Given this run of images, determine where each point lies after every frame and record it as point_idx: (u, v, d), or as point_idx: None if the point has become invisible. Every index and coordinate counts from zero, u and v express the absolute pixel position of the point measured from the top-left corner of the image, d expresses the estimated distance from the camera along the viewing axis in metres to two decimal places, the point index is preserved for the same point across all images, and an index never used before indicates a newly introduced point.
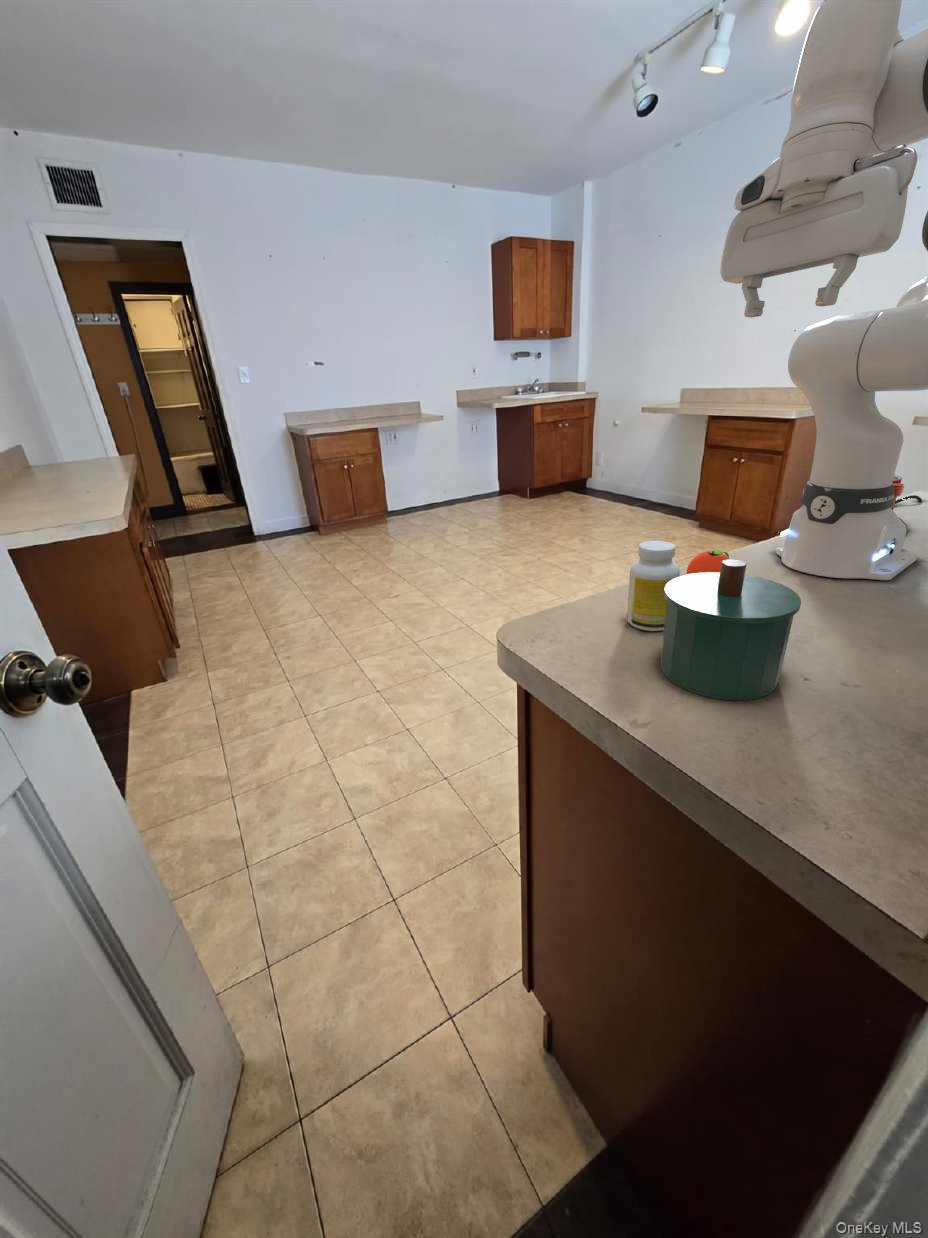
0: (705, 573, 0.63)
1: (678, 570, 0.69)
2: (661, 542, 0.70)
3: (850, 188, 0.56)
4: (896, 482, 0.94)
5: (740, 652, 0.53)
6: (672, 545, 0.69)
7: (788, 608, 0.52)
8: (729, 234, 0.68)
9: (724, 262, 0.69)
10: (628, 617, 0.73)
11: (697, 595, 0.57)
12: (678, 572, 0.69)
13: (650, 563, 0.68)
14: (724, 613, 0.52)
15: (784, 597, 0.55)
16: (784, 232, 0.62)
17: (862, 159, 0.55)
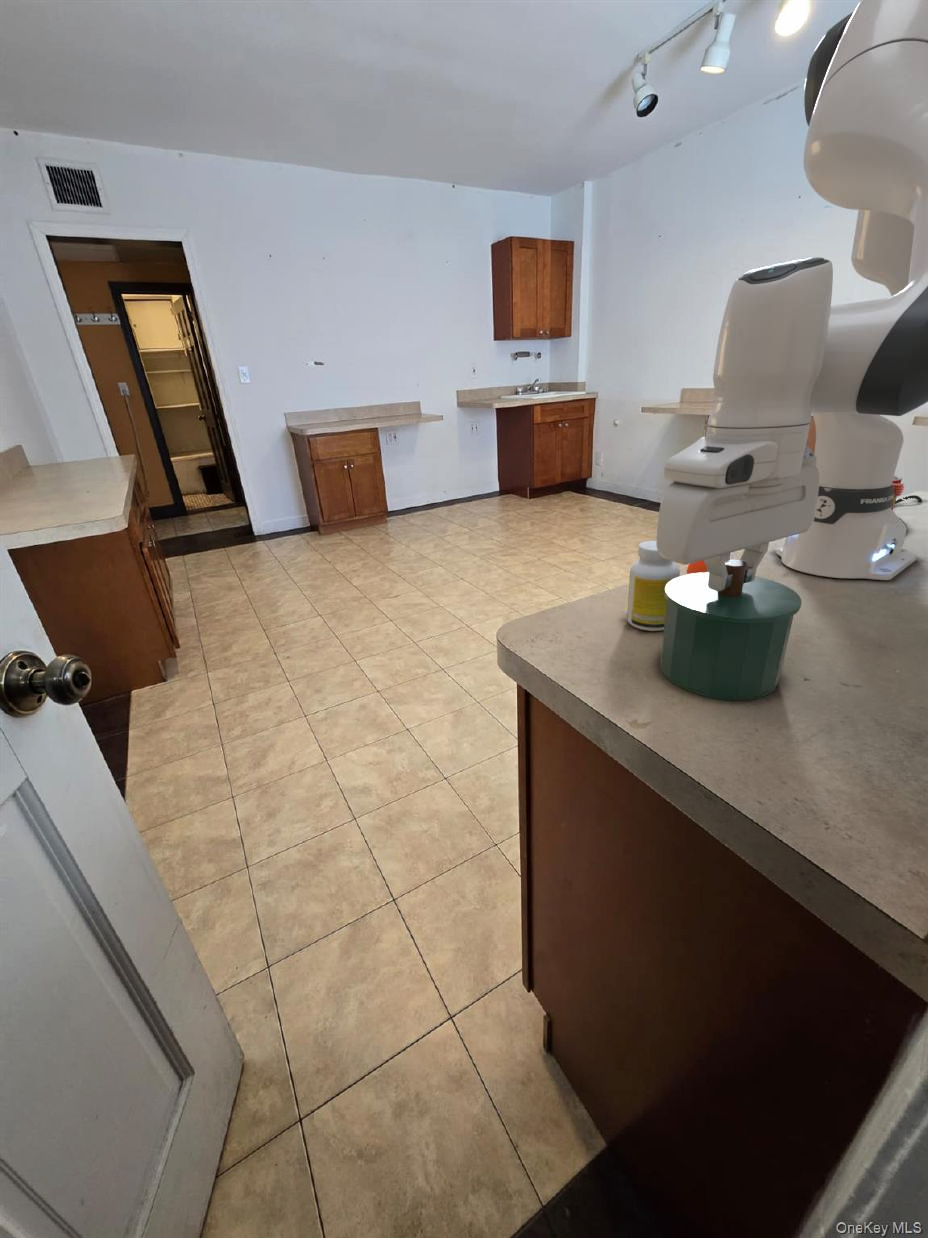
0: (705, 573, 0.63)
1: (678, 570, 0.69)
2: None
3: (798, 481, 0.53)
4: (896, 482, 0.94)
5: (740, 652, 0.53)
6: None
7: (788, 608, 0.52)
8: (701, 514, 0.47)
9: (692, 546, 0.49)
10: (628, 617, 0.73)
11: (697, 595, 0.57)
12: (678, 572, 0.69)
13: (650, 563, 0.68)
14: (724, 613, 0.52)
15: (784, 597, 0.55)
16: (749, 515, 0.51)
17: None
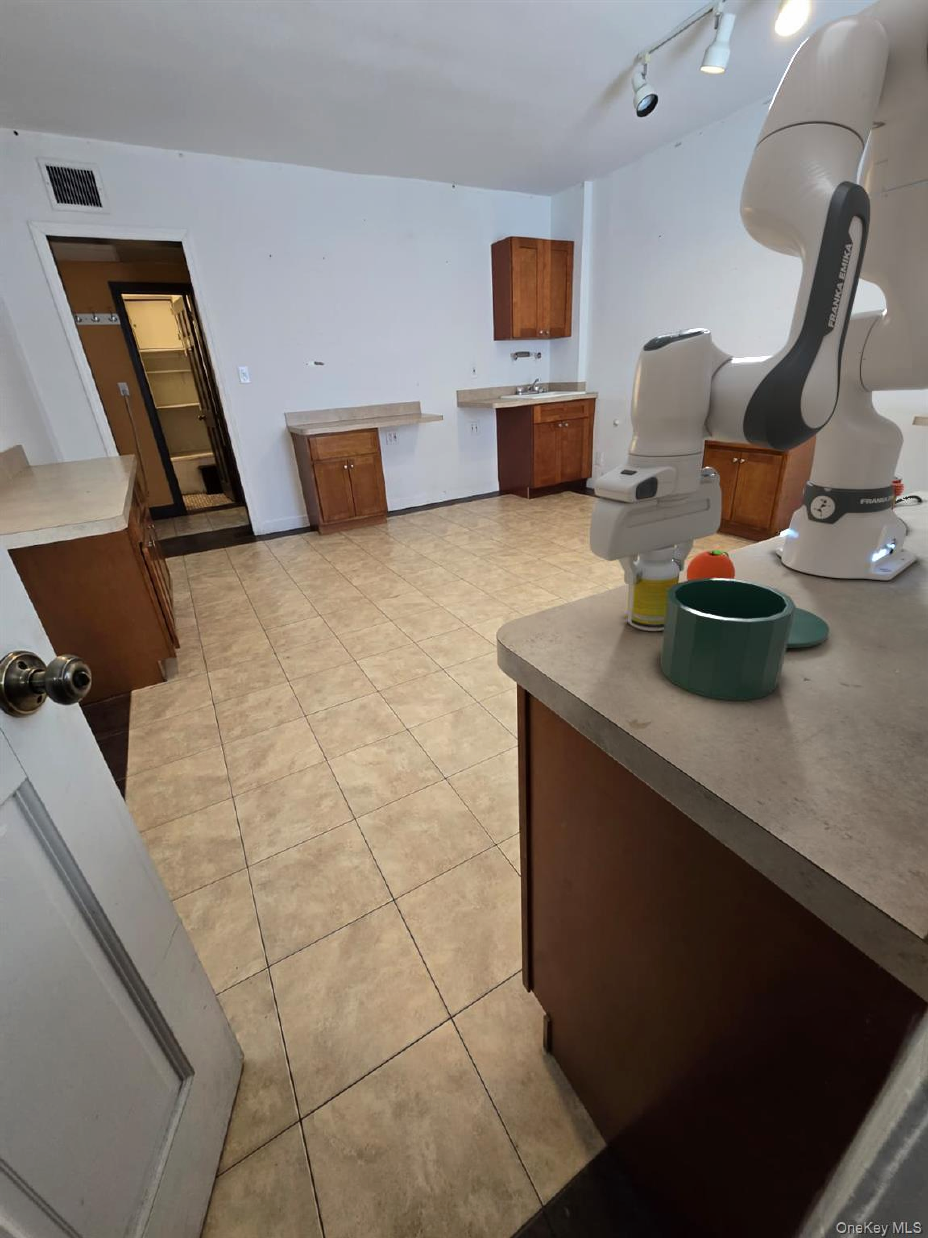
0: None
1: (678, 570, 0.69)
2: None
3: (702, 495, 0.67)
4: (896, 482, 0.94)
5: (740, 652, 0.53)
6: (672, 545, 0.69)
7: (819, 635, 0.65)
8: (619, 522, 0.62)
9: (614, 546, 0.63)
10: (628, 617, 0.73)
11: None
12: (678, 572, 0.69)
13: (650, 563, 0.68)
14: None
15: (815, 625, 0.67)
16: (661, 522, 0.65)
17: None
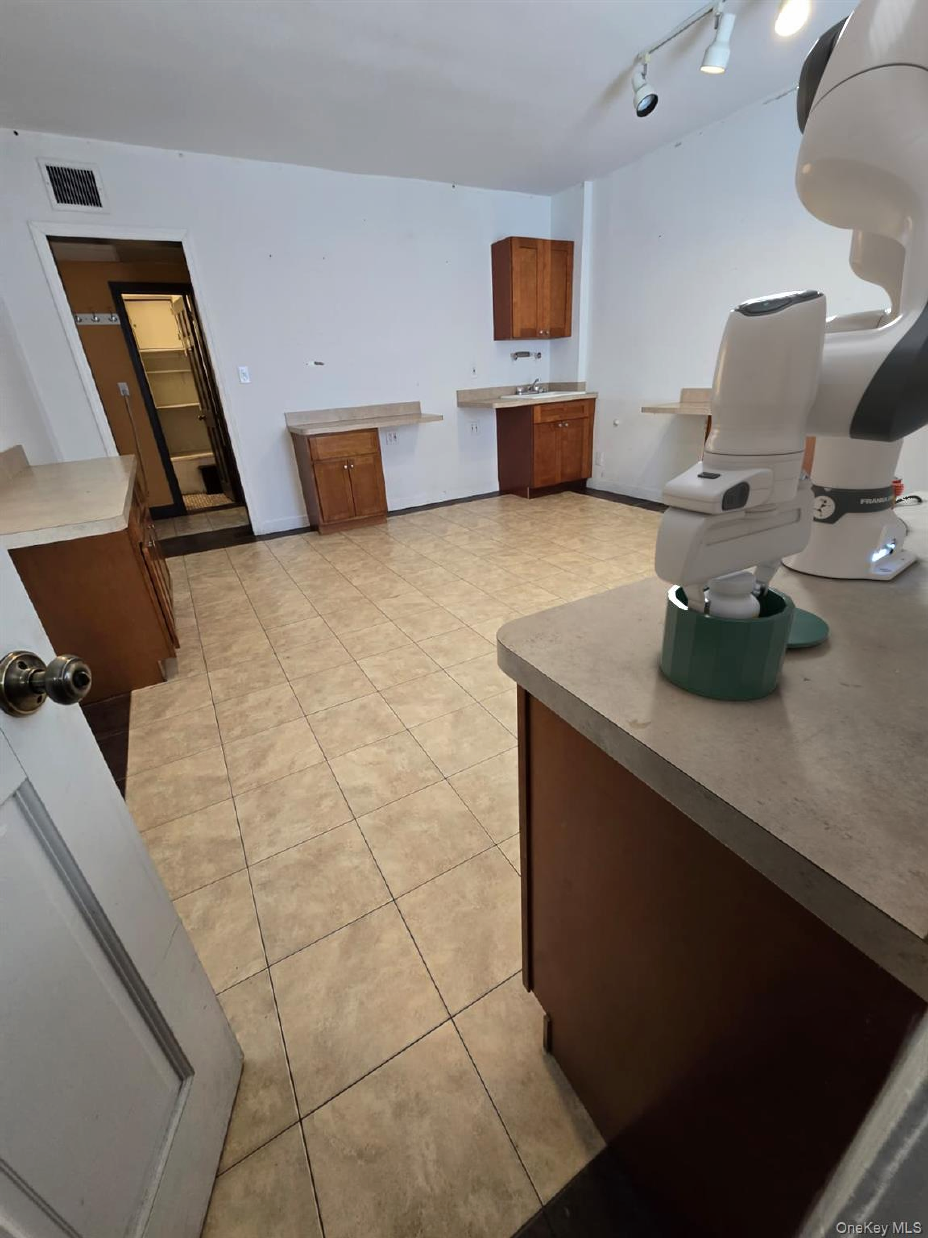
0: None
1: (758, 606, 0.56)
2: None
3: (793, 504, 0.54)
4: (896, 482, 0.94)
5: (740, 652, 0.53)
6: (751, 575, 0.56)
7: (819, 635, 0.65)
8: (698, 539, 0.48)
9: (690, 570, 0.50)
10: None
11: None
12: (759, 608, 0.56)
13: (724, 597, 0.56)
14: None
15: (815, 625, 0.67)
16: (745, 538, 0.52)
17: None
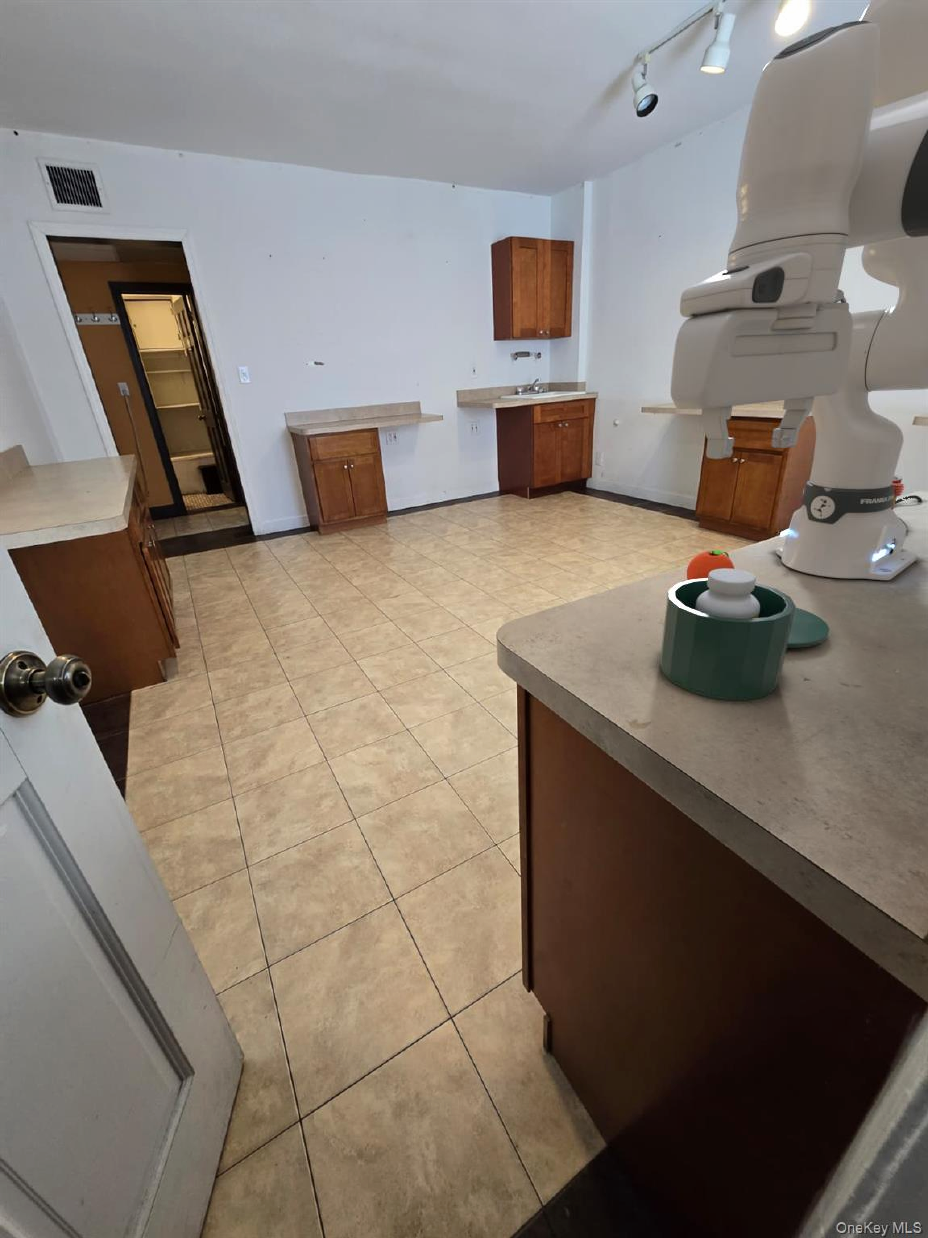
0: None
1: (758, 606, 0.56)
2: (735, 570, 0.57)
3: (830, 325, 0.47)
4: (896, 482, 0.94)
5: (740, 652, 0.53)
6: (751, 575, 0.56)
7: (819, 635, 0.65)
8: (723, 341, 0.41)
9: (713, 383, 0.43)
10: None
11: None
12: (759, 608, 0.56)
13: (724, 597, 0.56)
14: None
15: (815, 625, 0.67)
16: (776, 357, 0.45)
17: None
